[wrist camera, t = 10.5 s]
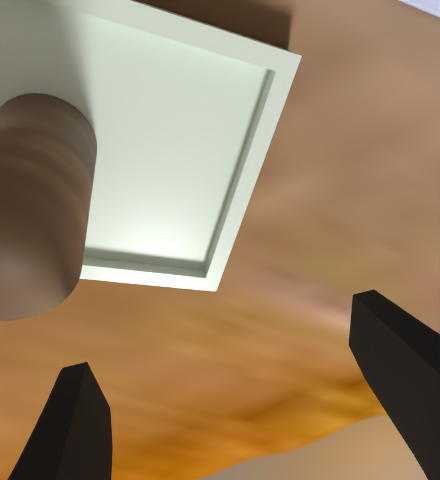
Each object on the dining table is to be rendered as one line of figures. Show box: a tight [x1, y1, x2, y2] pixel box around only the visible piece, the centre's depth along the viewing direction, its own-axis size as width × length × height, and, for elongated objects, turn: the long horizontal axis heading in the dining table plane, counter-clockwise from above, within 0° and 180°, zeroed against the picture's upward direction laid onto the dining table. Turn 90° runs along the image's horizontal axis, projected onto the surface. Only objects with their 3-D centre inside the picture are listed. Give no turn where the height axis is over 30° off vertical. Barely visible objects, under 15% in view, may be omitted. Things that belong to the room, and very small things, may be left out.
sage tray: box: [0, 0, 302, 291], centre depth 16 cm, size 18×12×2 cm, turn 73°
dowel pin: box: [0, 93, 97, 321], centre depth 13 cm, size 4×4×8 cm
